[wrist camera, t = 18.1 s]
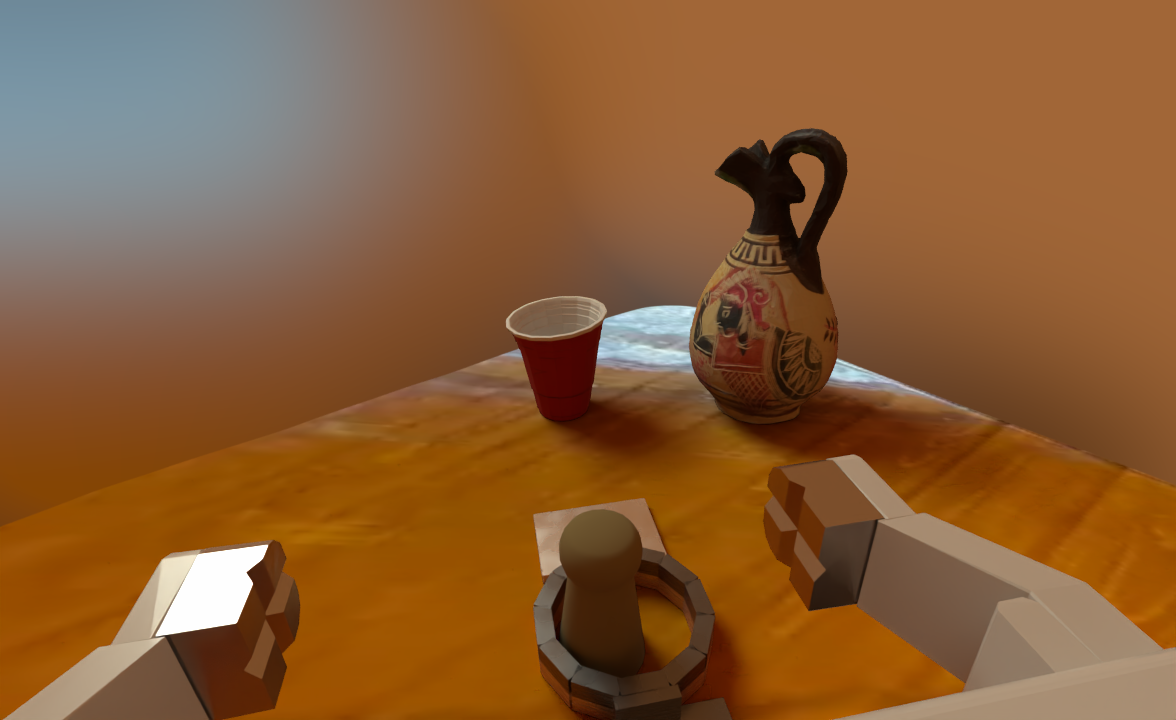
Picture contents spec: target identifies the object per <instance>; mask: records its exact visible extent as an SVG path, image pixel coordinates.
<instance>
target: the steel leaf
mask: <svg viewBox="0 0 1176 720" xmlns="http://www.w3.org/2000/svg"><path fill="white" fill-rule="evenodd" d="M597 509H605V510H611V511H615V512H618V513H620V514H622V515H624V516H625V517H626V518H628V519H629V520H630V521H631V522H632V523H633V524H634V526H635V527H636V529H637V530H638V532H639V534H640V537H641V542H642V547H643V548H647V549H652V550H656V551H660V552H664V553H665V555H666V551H665V549H664V546H663V544H662V541H661V539H660V536H659V534H658V531H657V529H656V526H655V524H654V521H653V519H652V516H651V514H650V511H649V508H648V506H647V503H646V501H645V498H641V499H634V500H627V501H621V502H614V503H607V504H600V505H593V506H587V507H580V508H573V509H566V510H560V511H553V512H546V513H539V514H533V516H534V525H535V531H536V538H537V545H538V552H539V559H540V566H541V573H542V580H543V583H545V582H546V580H547V579H548V577H549V575H550V573H552V571H553V570H554V569H556V568H557V567H559V566H560V565H562V564H561V562H560V556H559V542H560V538H561V535H562V533H563V530H564V528H565V527H566V526H567V525H568V523H569V522H570V521H571V520H572V519H573V518H574V517H576V516H577V515H579V514H581V513H583V512H586V511H590V510H597ZM634 580H635V584H636V585H639V586H643V587H647V588H651V589H655V590H658V591H659V592H660V593H662V594H663V595H664V596H665V597H666V598H668V599H669V600H670V601H671V602H672V603H674V604H675V605H676V606H677V607H679V608H680V609H681V610H682V611H683V613H684V615H685V618H686V620H687V623H688V626H689V628H690V631H691V633H692V631H693V627H694V622H693V620H692V617H691V615H690V612H689V610H688V607H687V605H686V602H685V600H684V598H683V597H682V596H681V595H680V594H678V593H677V592H676V591H675V590H673V589H672V588H671V587H670V586H668V585H667V584H666V583H665V582H664V581H662V580H661V579H660V578H659V577H656V576H652V575H648V574H644V573H640V572H637V573H636V574H635V576H634ZM564 599H565V595H564V597H563V599H562V601H561V603H560V605H559V607H558V609H557V611H556V613H555V616H554V618H553V624H554V630H555V629H556V627H557V625H558V623H559V621H560V619H561V616H562V613H563V606H564ZM535 628H536V627H535ZM713 632H714V631H713ZM536 637H537V636H536ZM712 642H713V636H712V641H711V646H710V651H709V656H708V661H707V665H706V668H705V671H704V672H703V673H701V674H700V675H699V676H698V677H697V678H696V679H695V680H694V681H693V682H692V683H691V684H690V685H689V686H688V687H686V688H685V689H684V690H683V691H682V692H681V696H682V704H683V703H684V702H685V701H686V700H688V699H689V698H690V697H691V696H692V695H693V694H694V693H695V692H696V691H697V690H698V689H699V688H700V687H701V686H702V685H703V682H705V678H706V673H707V668H708V663H709V658H710V653H711V648H712ZM537 646H538V644H537ZM538 654H539V652H538ZM539 662H540V659H539ZM540 671H541V672H542V676H543V677H544V678H545V679H546V681H547V682H548V683H549V684H550V685H551V686H552V688H553V689H554V690H555V691H556V692H557V694H558V695H559V696H560V697H561V698H562V699H563V701H564V702H565V703H566V704H567V705H568V706H569V708H571V707H573V710H574V711H577V712H580V713H583V714H586V715H589V716H592V717H595V718H598V719H601V720H612V719H613V710H612V709H609V708H606V707H603V706H600V705H597V704H594V703H591V702H588V701H585V700H582V699H579V698H576V697H573V696H572V692H571V693H570V694H568V693H567V691H566V690H565V689H564V688H563V687H562V686H561V685H560V683H559V682H558V681H557V680H556V679H555V678H554V677H553V675H552V674H551V673H550V672H549V671H548V670H547V668H546V667H545V666H544V665H543V664H542V663H541V662H540ZM682 704H681V705H682Z"/></svg>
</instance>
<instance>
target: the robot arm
mask: <svg viewBox="0 0 1176 720" xmlns="http://www.w3.org/2000/svg"><path fill="white" fill-rule="evenodd" d="M767 486H768V488H769V489H770V491H771V492H772V494H773V495H774V496H773V497H772V498H771V499H770V501H769V502H768V503H767V504H766V505H765V508H764V519H763V522H764V528H765V534H766V538H767V541H768V543H769V546H770V549H771V550H772V552H773V554H774V555H775V557H776V559H777V560H779V561H780V562H782V563H784V564H785V565H787V566H789V567H791V571H790V578H789V580H790V582H791V583H792V585H793V587H794V588H795V590H796V592H797V593H798V595H799V596H800V598H801V600H802V601H803V603H804V604H805V606H806V608H807V609H808V611H813V610H819V609H826V608H832V607H839V606H845V605H852V604H857V607H858V608H860V609H861V610H863V611H864V612H866V613H867V614H868V615H870V616H871V617H873V618H874V619H875V620H877V621H878V622H880V623H881V624H882V625H884V626H885V627H887V628H888V629H890V630H891V631H892V632H894V633H895V634H897V635H898V636H899V637H901V638H902V639H904V640H905V641H906V642H908V643H909V644H911V645H912V646H913V647H915V648H916V649H918V650H919V651H921V652H922V653H923V654H925V655H926V656H928V657H929V658H930V659H932V660H933V661H935V662H936V663H937V664H939V665H940V666H942V667H943V668H945V669H946V670H947V671H949V672H950V673H952V674H953V675H954V676H956V677H957V678H959V679H960V680H961V681H963V682H964V683H966V684H965V686H964V689H963V691H962V693H957V694H952V695H947V696H943V697H938V698H933V699H928V700H924V701H919V702H914V703H909V704H905V705H900V706H895V707H891V708H886V709H881V710H876V711H872V712H867V713H862V714H857V715H853V716H848V717H843V718H839V719H834V720H1176V647H1174V648H1170V649H1165V650H1163V649H1162V648H1161V647H1160V646H1159V645H1158V644H1157V643H1155V642H1154V641H1153V640H1152V639H1151V638H1150V637H1148V636H1147V635H1146V634H1145V633H1144V632H1143V631H1141V630H1140V629H1139V628H1138V627H1137V626H1136V625H1135V624H1133V623H1132V622H1131V621H1130V620H1129V619H1128V618H1126V617H1125V616H1124V615H1123V614H1122V613H1121V612H1119V611H1118V610H1117V609H1116V608H1115V607H1114V606H1113V605H1111V604H1110V603H1109V602H1108V601H1107V600H1106V599H1104V598H1103V597H1102V596H1101V595H1100V594H1099V593H1097V592H1096V591H1095V590H1094V589H1093V588H1092V587H1091V586H1089V585H1088V584H1087V583H1085V582H1083V581H1081V580H1078V579H1076V578H1074V577H1071V576H1069V575H1067V574H1064V573H1062V572H1060V571H1057V570H1055V569H1053V568H1051V567H1048V566H1046V565H1044V564H1041V563H1039V562H1037V561H1034V560H1032V559H1030V558H1027V557H1025V556H1023V555H1021V554H1018V553H1016V552H1014V551H1011V550H1009V549H1007V548H1004V547H1002V546H1000V545H997V544H995V543H993V542H991V541H988V540H986V539H984V538H981V537H979V536H977V535H974V534H972V533H970V532H967V531H965V530H963V529H961V528H958V527H956V526H954V525H951V524H949V523H947V522H944V521H942V520H940V519H937V518H935V517H933V516H931V515H928V514H926V513H921V514H916V513H915V512H914V511H913V510H912V509H911V508H910V507H909V506H908V505H907V504H906V503H905V502H904V501H903V500H902V499H901V498H900V497H899V496H898V495H897V494H896V493H895V492H894V491H893V490H892V489H891V488H890V487H889V486H888V485H887V484H886V483H885V482H884V481H883V480H882V479H881V478H880V477H879V476H878V474H877V473H876V472H875V471H874V470H873V469H872V468H871V467H870V466H869V465H868V464H867V463H866V462H865V461H864V460H863V459H862V458H861V457H859V456H856V455H854V454H853V455H847V456H841V457H835V458H829V459H826V460H820V461H813V462H807V463H800V464H794V465H787V466H780V467H774V468H773V469H772V470H771V472H770V474H769V479H768V485H767ZM285 561H286V556H285V553H284V551H283V549H282V546H281V544H280V542H277V541H275V540H270V541H262V542H254V543H246V544H238V545H230V546H221V547H213V548H206V549H204V550H194V551H186V552H178V553H171V554H170V555H168V556H167V557H165V558H164V559H162V560H161V562H160V563H159V565H158V567H157V568H156V570H155V572H154V573H153V575H152V577H151V578H150V580H149V582H148V583H147V585H146V587H145V588H144V590H143V592H142V593H141V595H140V597H139V598H138V600H137V602H136V604H135V605H134V607H133V609H132V610H131V612H130V614H129V615H128V617H127V619H126V620H125V622H124V624H123V625H122V627H121V629H120V630H119V632H118V634H117V635H116V637H115V639H114V640H113V642H112V644H111V645H109V646H104V647H98V648H97V649H96V650H94V651H93V652H92V653H91V654H89V655H88V656H87V657H85V658H84V659H83V660H81V661H80V662H79V663H77V664H76V665H75V666H73V667H72V668H71V669H69V670H68V671H67V672H66V673H64V674H63V675H62V676H60V677H59V678H58V679H56V680H55V681H54V682H52V683H51V684H50V685H48V686H47V687H46V688H44V689H43V690H42V691H41V692H39V693H38V694H37V695H35V696H34V697H33V698H31V699H30V700H29V701H27V702H26V703H25V704H23V705H22V706H21V707H19V708H18V709H17V710H16V711H14V712H13V713H12V714H10V715H9V716H8V717H6V718H5V719H4V720H223V719H228V718H233V717H238V716H242V715H247V714H252V713H257V712H261V711H266V710H271V709H275V706H276V703H277V699H278V696H279V692H280V689H281V686H282V682H283V679H284V675H285V672H286V669H287V666H286V663H285V661H284V658H283V656H282V653H283V652H284V651H285V650H286V649H287V648H288V647H289V646H290V645H291V644H292V643H293V642H294V641H295V637H296V633H297V629H298V626H299V614H300V601H299V594H298V589H297V586H296V583H295V580H294V579H293V578H292V577H290V576H288V575H287V574H285V573H284V572H282V570H283V567H284V564H285Z"/></svg>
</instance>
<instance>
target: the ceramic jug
mask: <svg viewBox="0 0 1176 720" xmlns="http://www.w3.org/2000/svg"><path fill="white" fill-rule="evenodd" d="M800 152H802V153H806V154H809V155H813V156H816V157H817V158H819V160H820V161H821V162H822V163H823V164H824V169H825V171H824V176H825V177H824V185H823V188H822V190H821V193H820V195H819V198H818V200H817V203H816V205H815V208H814V210H813V213H812V215H811V217H810V219H809V221H808V222H807V224H806V226H805V229H804V231H803V233H802V235H801V238H798V236H797V234H796V231H795V228H794V226H793V223H792V220H791V216H790V204H792V203H801V202H803V201H804V198H805V196H806V195H805V187H804V186H803V184H802V183H801V181H800V179H799V178H798V177H797V176H796V174H795V173H794V172H793V169H792V167H791V166H790V163H789V159H790V157H791V156H792V155H794V154H797V153H800ZM846 156H847V155H846V153H845V152H844V149H843V147H842V145H841V143H840V141H838V140H837V139H836V137H834V136H832V135H830V134H829V133H827V132H825V131H823V130H819V129H812V128H811V129H801V130H797V131H794V132H791V133H789V134H787V135H785V136H783V137H782V138H781V139H780V140H779V141H778V142H777V143H776V144H775V145H774V147H773V149H772V151H771V153H770V154H769V152H768V150H767V147H766V145H765V143H764V141H763V140H758V141H757V143H755V144H754V145H753V146H752V147H751V148H749V149H747V148H745V147H739V148H738V149H736V150H735V151H734V152H733V153H732V154H730V155H729V156H728V157H727V158H726V160H725V161H724V162H723V164H722V165H721V166H720V167H719V168H718V169H717V170H716V171H715V175H716V176H718V177H720V178H721V179H723V180H725V181H727V182H730V183H732V184H734V185H736V186H738V187H739V188H741V189H742V190H744V191H746V192H747V193H748V194H749V195H750V196H751V197H752V198H753V201H754V206H755V211H754V215H753V219H752V223H751V226H750V228H749V229H747V230H746V233H745V234H744V236H743V237H742V238H741V240H740V241H739V242H738V243H737V244H736V245H735V246H734V247H733V248H732V250H731V251H730V252H729V254H728V255H727V256H726V258H725V259H724V261H723V262H722V264H721V265H720V266H719V268H718V269H717V271H716V272H715V273H714V275H713V276H712V278H711V279H710V281H709V282H708V284H707V286H706V287H705V289H704V291H703V293H702V295H701V298H700V300H699V302H698V305H697V308H696V312H695V315H694V319H693V323H692V327H691V330H690V342H689V349H690V357H691V362H692V366H693V369H694V372H695V374H696V375H697V377H698V379H699V381H700V382H701V383H702V384H703V385H704V386H705V387H706V389H707V390H708V391H709V392H710V393H711V394H712V395H713V397H714V398H715V402H716V405H717V407H718V408H719V409H720V410H721V411H722V412H723V413H725V414H727V415H729V416H730V417H732V418H733V419H736V420H739V421H743V422H747V423H754V424H771V423H777V422H782V421H787V420H790V419H794V418H795V417H796V416H798V415H799V411H800V406H801V404H803V403H804V402H805V401H807V400H808V399H810V398H811V397H813V396H814V395H815V394H817V393H818V392H820V391H821V390H822V388H823V387H824V386H825V384H826V383H827V381H828V379H829V377H830V375H831V373H832V371H833V368H834V366H835V363H836V359H837V350H838V329H837V324H838V323H837V318H836V316H835V312H834V308H833V304H832V301H831V298H830V296H829V293H828V291H827V289H826V287H825V284H824V282H823V280H822V277H821V269H820V261H819V256H818V252H817V245H818V242H819V240H820V237H821V235H822V233H823V231H824V229H825V227H826V225H827V222H828V220H829V218H830V217H831V215H832V213H833V211H834V209H835V207H836V205H837V203H838V201H839V199H840V196H841V193H842V190H843V187H844V183H845V179H846V176H847V158H846Z"/></svg>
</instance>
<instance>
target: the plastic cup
mask: <svg viewBox="0 0 1176 720" xmlns="http://www.w3.org/2000/svg"><path fill="white" fill-rule="evenodd" d="M606 313H607V311H606V308H605V306H604V304H602V303H600V302H598V301H596V300H595V299H591V298H586V297H579V296H563V297H562V296H561V297H555V298H548V299H542V300H539V301H536V302H532V303H529V304H526V305H525V306H522V307H521V308H519V309H517V310H515V311H513V312H512V313H511V315H510V316H509V317H508V318H507V319H506V327H507V329H508V331H509V332H511V333H512V334H513V336H514V338H515V341H516V342H517V344H518V347H519V349H520V350H521V354H522V357H523V361H524V364H525V367H526V371H527V374H528V377H529V381H530V384H531V388H532V389H533V392H534V395H535V399H536V403H537V407H538V409H539V411H540V413H541V414H542V415H543V416H544V417H546V418H548V419H551V420H557V421H566V420H573V419H575V418H578V417H580V416H582V415H583V414H584V413H586V411H587V409H588V405H589V403H590V398H591V390H592V384H593V382H594V375H595V368H596V360H597V353H598V346H599V340H600V335H601V330H602V323H603V320H604V319H605V317H606Z"/></svg>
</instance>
